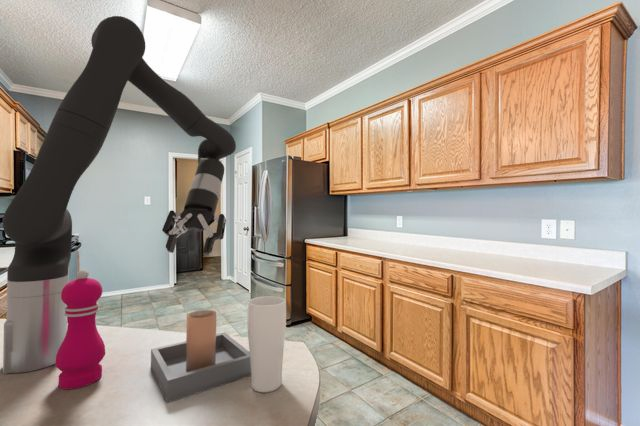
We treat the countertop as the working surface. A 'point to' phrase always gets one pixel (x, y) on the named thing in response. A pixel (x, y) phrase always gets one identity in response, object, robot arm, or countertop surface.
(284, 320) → the drinking glass
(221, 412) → the countertop surface
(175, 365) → the charcoal tray
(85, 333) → the pepper mill
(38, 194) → the robot arm
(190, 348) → the terracotta cup
